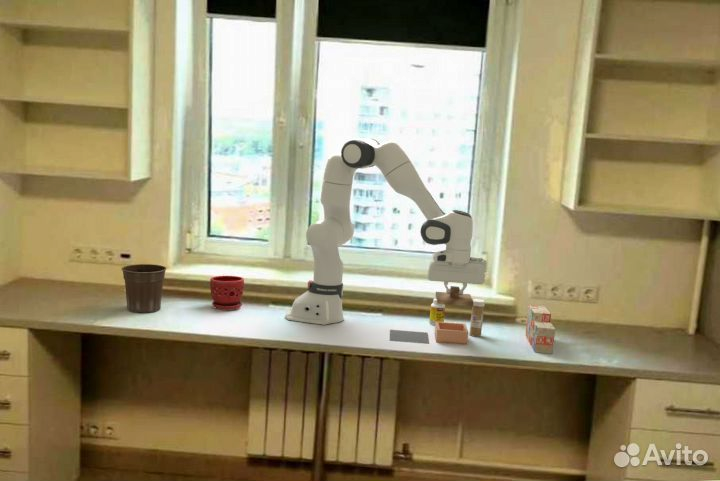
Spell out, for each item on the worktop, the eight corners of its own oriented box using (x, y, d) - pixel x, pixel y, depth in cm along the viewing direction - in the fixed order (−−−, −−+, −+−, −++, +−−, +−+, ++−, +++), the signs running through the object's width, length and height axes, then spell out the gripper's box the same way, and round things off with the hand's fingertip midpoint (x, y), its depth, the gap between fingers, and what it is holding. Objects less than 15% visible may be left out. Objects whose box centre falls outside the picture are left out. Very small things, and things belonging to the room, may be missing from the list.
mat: (389, 341, 248) (389, 340, 248) (389, 330, 262) (389, 329, 262) (429, 344, 248) (429, 343, 248) (427, 333, 261) (427, 332, 261)
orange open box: (436, 343, 250) (437, 329, 249) (434, 334, 261) (435, 321, 260) (467, 345, 250) (468, 332, 249) (464, 336, 260) (465, 323, 260)
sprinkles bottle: (467, 335, 262) (471, 300, 260) (470, 332, 267) (474, 298, 265) (480, 337, 261) (483, 302, 259) (482, 334, 265) (486, 299, 263)
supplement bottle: (435, 327, 270) (437, 301, 269) (426, 323, 275) (428, 298, 273) (446, 326, 273) (448, 300, 272) (437, 322, 278) (439, 297, 276)
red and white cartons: (552, 354, 247) (556, 320, 245) (534, 352, 247) (538, 318, 245) (541, 337, 268) (545, 305, 266) (524, 335, 268) (528, 304, 266)
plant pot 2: (248, 305, 284) (249, 276, 282) (234, 313, 272) (236, 282, 270) (217, 301, 287) (219, 273, 285) (203, 309, 274) (204, 279, 273)
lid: (437, 303, 247) (438, 289, 246) (435, 295, 259) (436, 282, 258) (473, 306, 246) (474, 292, 246) (469, 298, 259) (470, 284, 258)
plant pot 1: (111, 308, 267) (112, 266, 264) (146, 301, 280) (147, 261, 277) (139, 317, 257) (140, 274, 255) (174, 309, 271) (175, 268, 268)
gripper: (486, 257, 253) (482, 294, 255) (429, 252, 254) (425, 290, 256) (488, 260, 247) (484, 298, 249) (429, 255, 248) (426, 294, 250)
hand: (454, 294), depth 253 cm, fingers closed on lid, 3 cm apart
